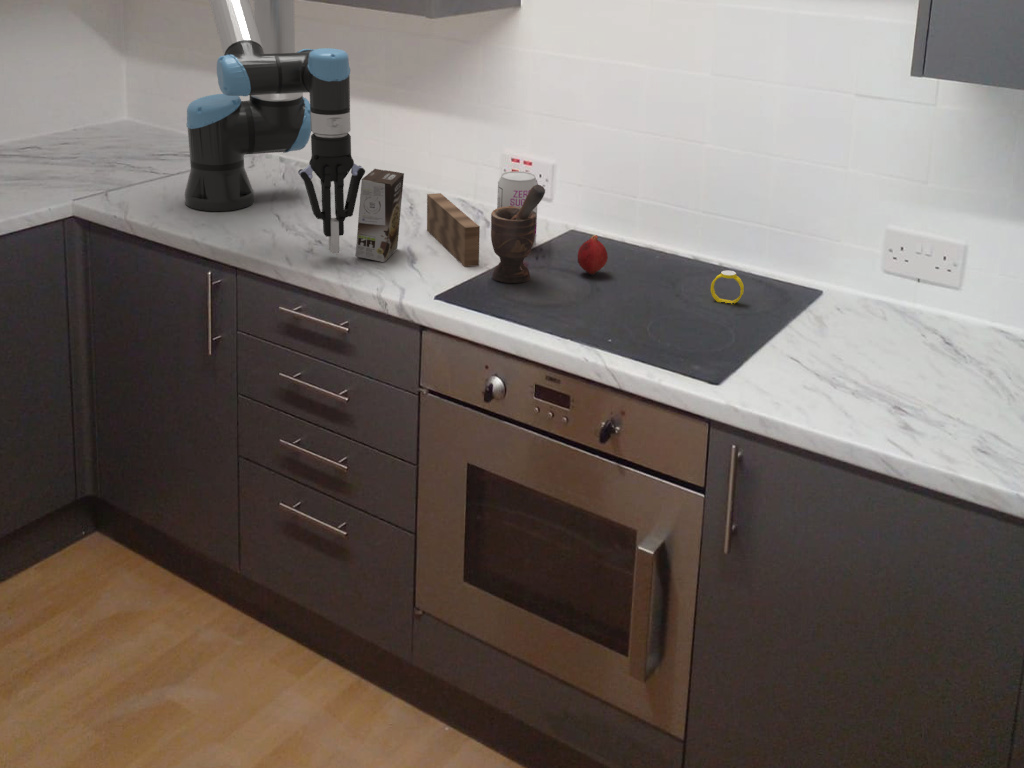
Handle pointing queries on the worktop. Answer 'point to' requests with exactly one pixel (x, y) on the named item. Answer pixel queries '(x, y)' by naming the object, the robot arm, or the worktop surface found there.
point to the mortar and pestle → (514, 237)
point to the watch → (728, 275)
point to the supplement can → (515, 190)
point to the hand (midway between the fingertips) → (334, 251)
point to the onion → (592, 255)
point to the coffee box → (379, 214)
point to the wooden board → (453, 229)
